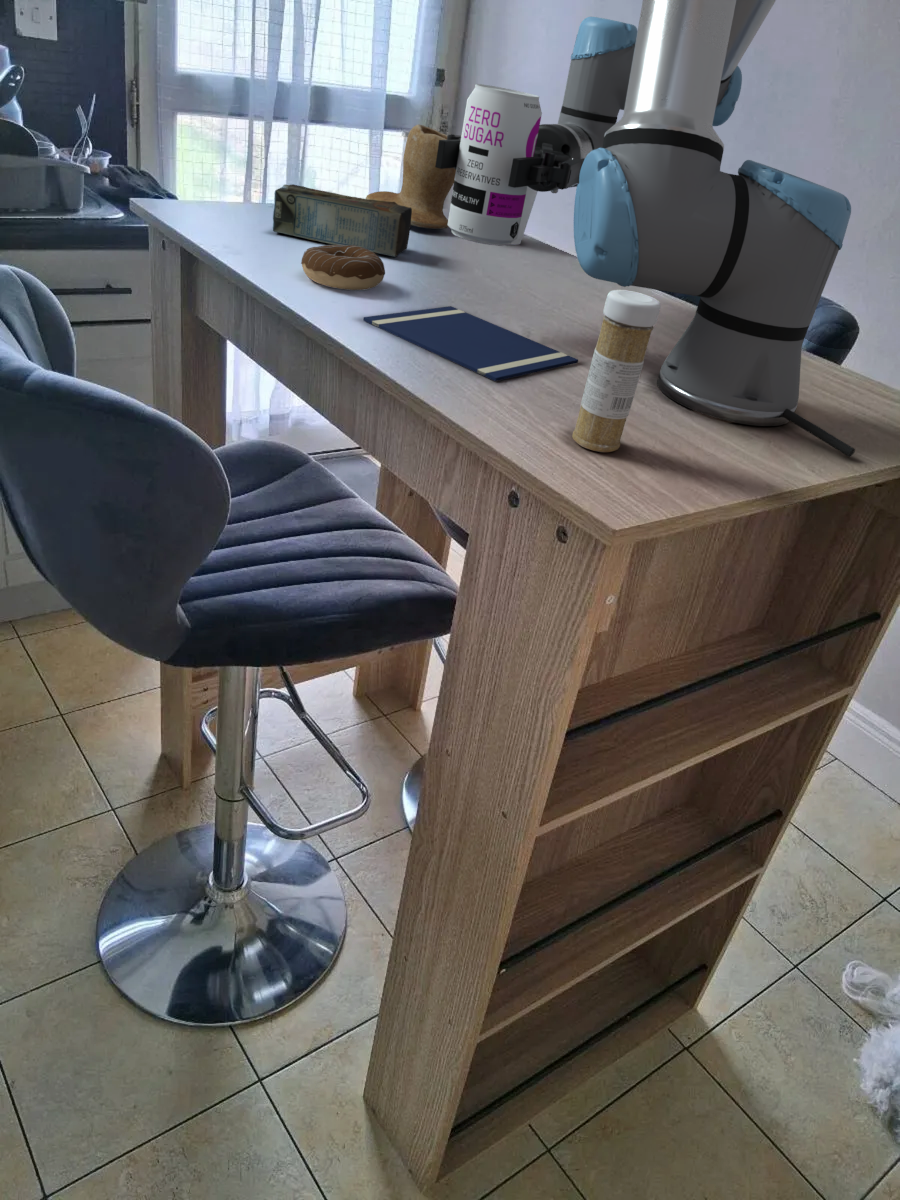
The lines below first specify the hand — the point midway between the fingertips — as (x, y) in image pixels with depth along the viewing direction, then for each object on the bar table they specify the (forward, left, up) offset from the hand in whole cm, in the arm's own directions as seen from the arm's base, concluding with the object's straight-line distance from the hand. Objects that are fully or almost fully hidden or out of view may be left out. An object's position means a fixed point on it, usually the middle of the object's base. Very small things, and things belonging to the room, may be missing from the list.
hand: (476, 163), depth 96 cm
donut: (+19, 0, -18) cm, 26 cm away
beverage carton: (+36, -15, -18) cm, 43 cm away
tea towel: (-4, +1, -18) cm, 18 cm away
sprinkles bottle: (-29, +12, -18) cm, 36 cm away
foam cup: (+33, -50, -18) cm, 63 cm away
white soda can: (+1, -5, -8) cm, 9 cm away
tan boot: (+45, -40, -18) cm, 63 cm away
